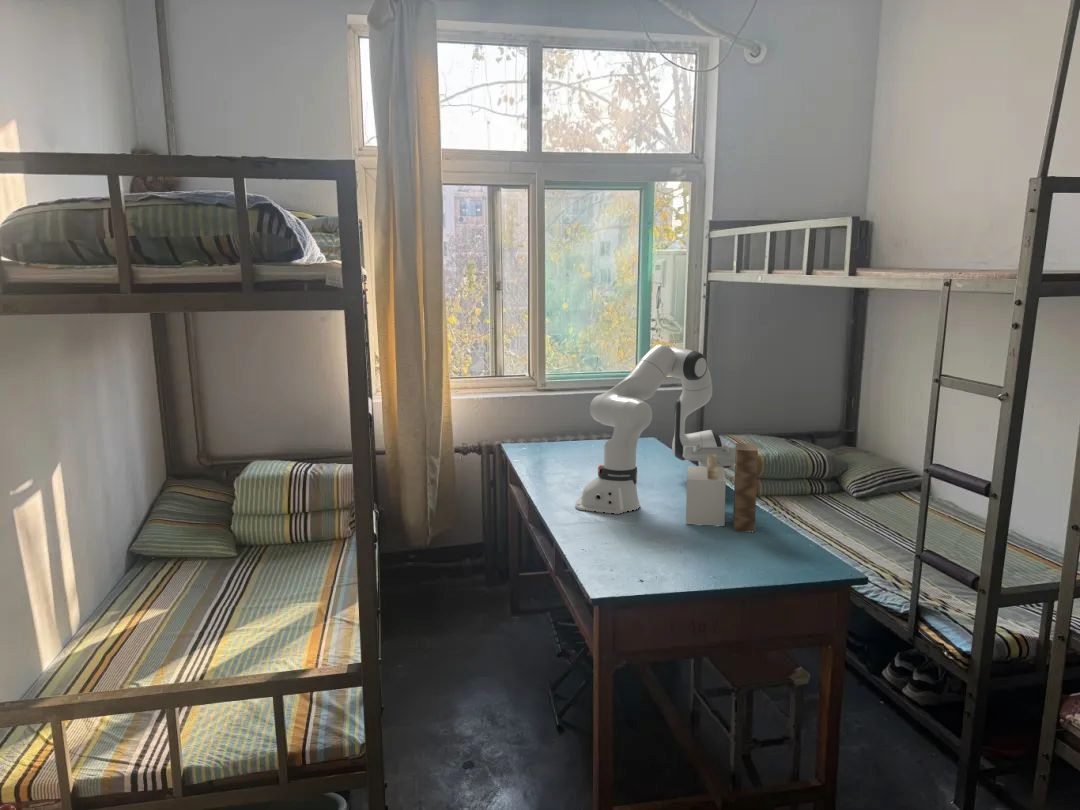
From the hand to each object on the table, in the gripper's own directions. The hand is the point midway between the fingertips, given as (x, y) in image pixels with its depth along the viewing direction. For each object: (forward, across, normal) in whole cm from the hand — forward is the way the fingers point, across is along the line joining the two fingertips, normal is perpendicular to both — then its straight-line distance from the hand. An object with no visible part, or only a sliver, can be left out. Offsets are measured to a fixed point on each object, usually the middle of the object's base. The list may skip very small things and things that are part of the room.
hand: (711, 447), depth 261 cm
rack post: (+19, +10, +32) cm, 38 cm away
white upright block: (+12, -2, +28) cm, 31 cm away
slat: (+15, 0, +13) cm, 19 cm away
